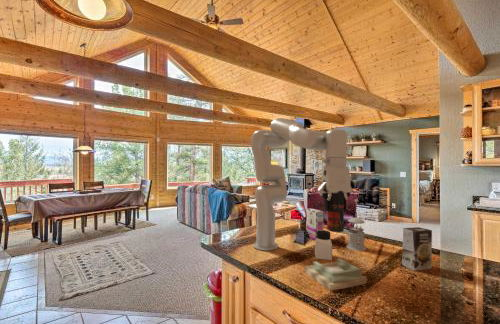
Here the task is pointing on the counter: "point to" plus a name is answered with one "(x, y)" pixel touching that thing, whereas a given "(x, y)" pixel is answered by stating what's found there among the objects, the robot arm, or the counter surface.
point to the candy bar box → (314, 222)
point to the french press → (356, 234)
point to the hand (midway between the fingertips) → (335, 209)
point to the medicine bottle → (323, 245)
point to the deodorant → (336, 213)
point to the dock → (336, 274)
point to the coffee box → (417, 248)
